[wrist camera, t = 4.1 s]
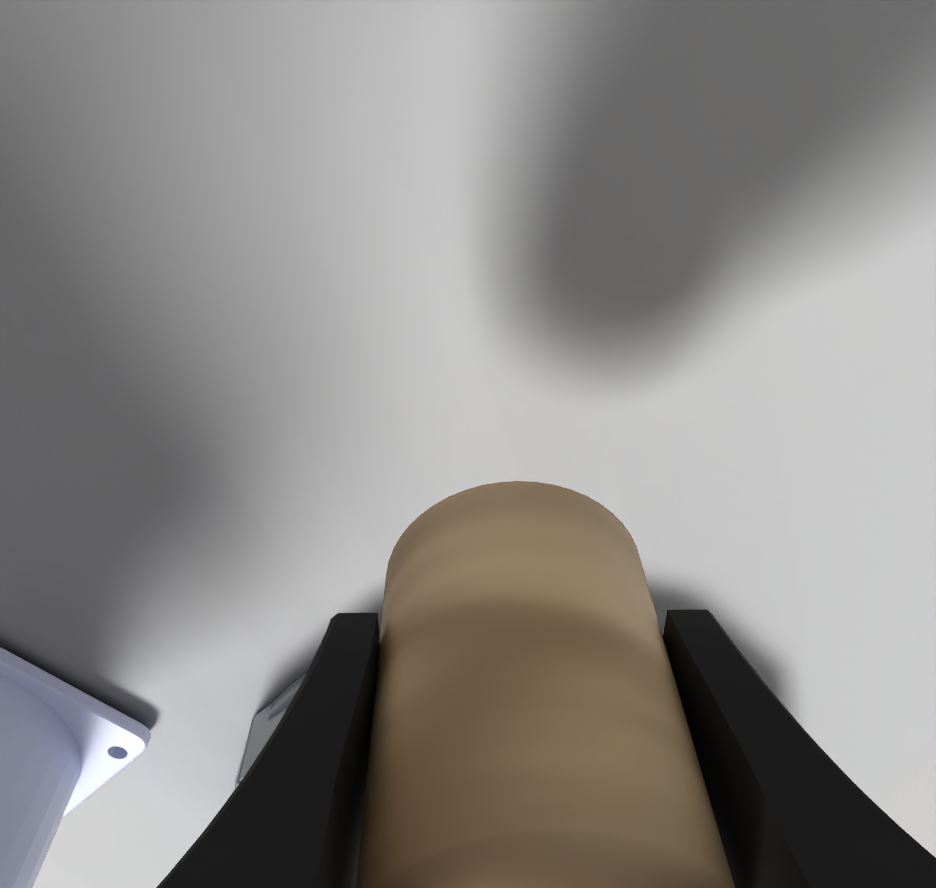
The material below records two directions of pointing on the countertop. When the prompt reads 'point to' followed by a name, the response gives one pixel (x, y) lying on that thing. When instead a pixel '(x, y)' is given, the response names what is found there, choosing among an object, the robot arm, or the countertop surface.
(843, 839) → the robot arm
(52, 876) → the countertop surface
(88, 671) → the countertop surface
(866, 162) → the countertop surface
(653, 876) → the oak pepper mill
